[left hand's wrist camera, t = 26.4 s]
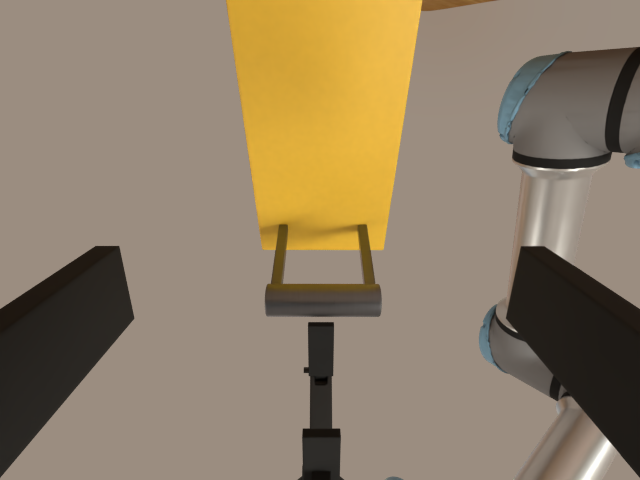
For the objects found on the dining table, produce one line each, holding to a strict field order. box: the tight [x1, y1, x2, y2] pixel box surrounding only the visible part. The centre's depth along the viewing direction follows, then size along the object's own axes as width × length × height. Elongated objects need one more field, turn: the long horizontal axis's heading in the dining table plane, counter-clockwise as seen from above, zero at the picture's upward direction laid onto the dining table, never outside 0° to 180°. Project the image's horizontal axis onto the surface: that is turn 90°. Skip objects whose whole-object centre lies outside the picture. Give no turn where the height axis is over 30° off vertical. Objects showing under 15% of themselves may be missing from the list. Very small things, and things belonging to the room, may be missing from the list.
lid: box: [226, 0, 422, 317], centre depth 22 cm, size 18×10×9 cm
